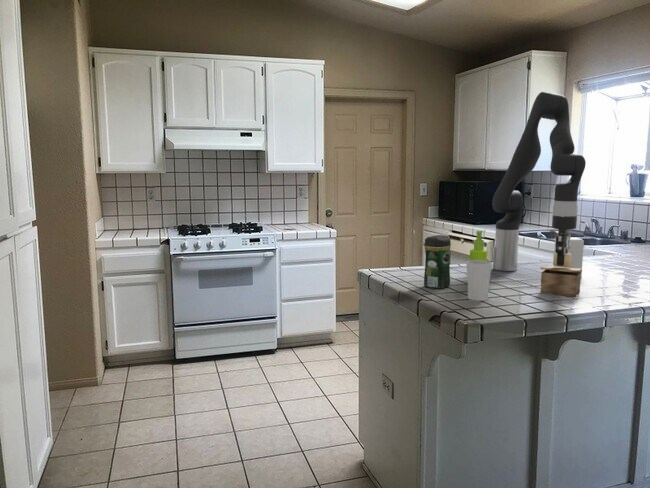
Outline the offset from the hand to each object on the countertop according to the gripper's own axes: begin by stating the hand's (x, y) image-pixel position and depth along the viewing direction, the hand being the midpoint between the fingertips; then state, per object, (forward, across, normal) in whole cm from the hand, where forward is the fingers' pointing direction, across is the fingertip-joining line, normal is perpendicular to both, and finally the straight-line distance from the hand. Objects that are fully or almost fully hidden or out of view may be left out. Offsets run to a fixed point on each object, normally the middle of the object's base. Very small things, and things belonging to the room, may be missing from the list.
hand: (561, 263), depth 182 cm
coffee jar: (+10, +14, -39) cm, 43 cm away
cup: (+10, +24, -21) cm, 33 cm away
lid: (+2, 0, 0) cm, 2 cm away
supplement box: (+10, -34, -3) cm, 36 cm away
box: (+10, 0, 0) cm, 10 cm away
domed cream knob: (+1, 0, 0) cm, 1 cm away
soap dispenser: (+10, +5, -27) cm, 29 cm away
